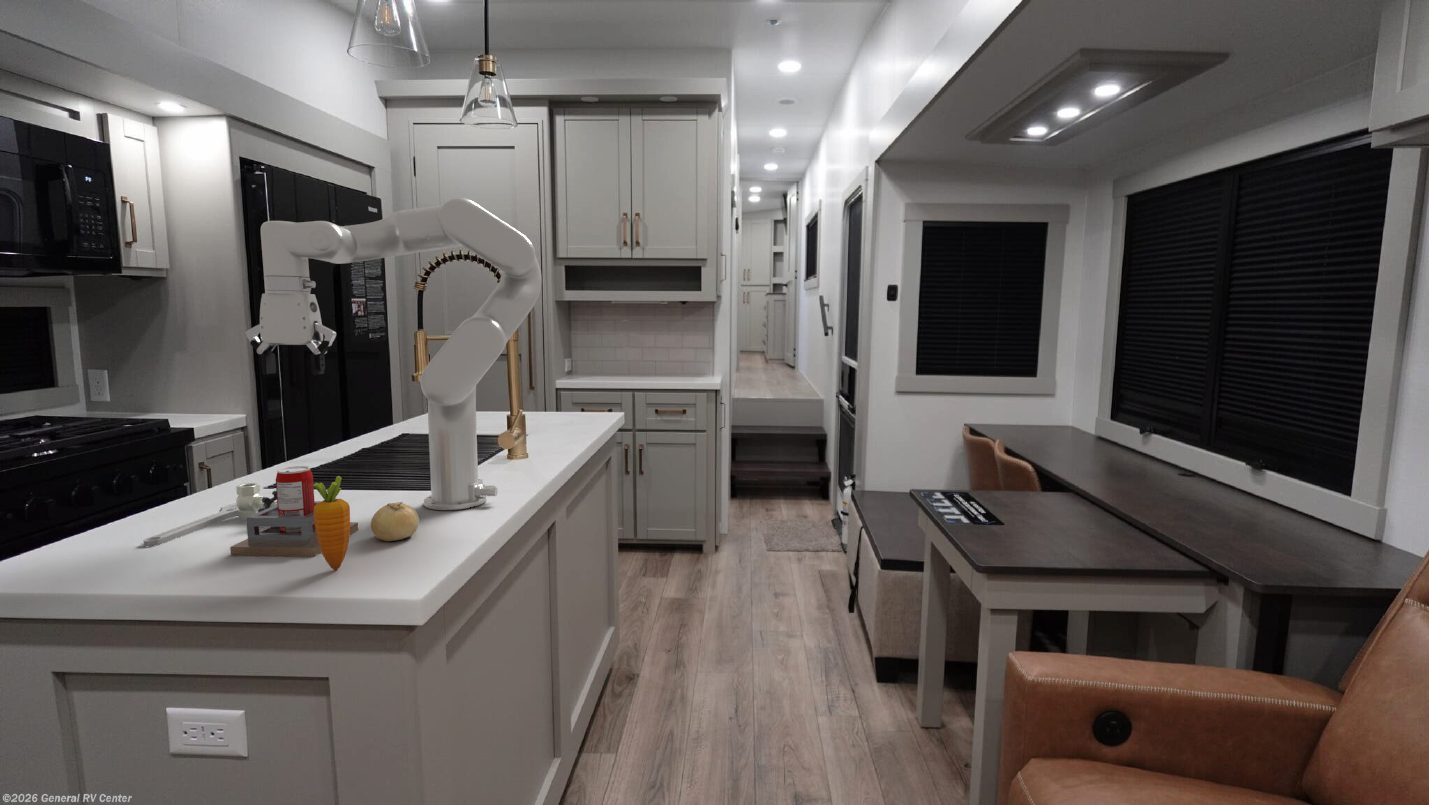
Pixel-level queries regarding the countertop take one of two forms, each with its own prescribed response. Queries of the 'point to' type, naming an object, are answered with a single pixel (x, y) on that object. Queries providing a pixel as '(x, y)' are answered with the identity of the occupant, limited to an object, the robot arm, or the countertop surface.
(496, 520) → the countertop surface
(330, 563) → the carrot
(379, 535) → the onion
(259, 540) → the collar stand
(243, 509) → the valve
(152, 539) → the adjustable wrench
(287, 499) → the soda can
